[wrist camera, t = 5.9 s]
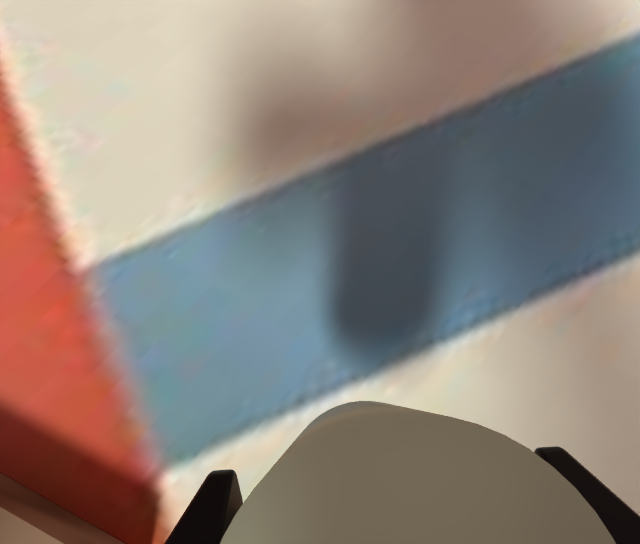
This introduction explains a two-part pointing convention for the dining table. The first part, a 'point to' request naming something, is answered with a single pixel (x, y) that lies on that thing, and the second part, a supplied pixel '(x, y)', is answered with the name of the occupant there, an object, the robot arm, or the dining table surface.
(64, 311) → the dining table surface
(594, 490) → the robot arm
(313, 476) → the pale green cylinder
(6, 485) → the collar
